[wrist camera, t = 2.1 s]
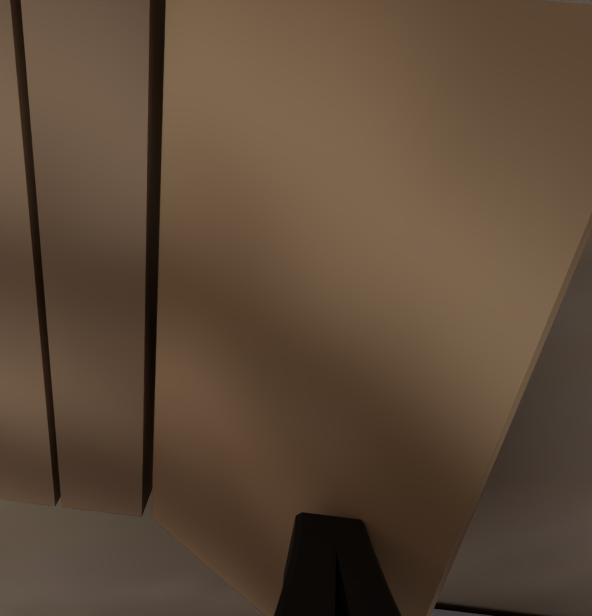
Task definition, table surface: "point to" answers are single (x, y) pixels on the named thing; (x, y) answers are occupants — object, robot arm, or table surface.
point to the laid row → (79, 250)
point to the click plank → (358, 266)
